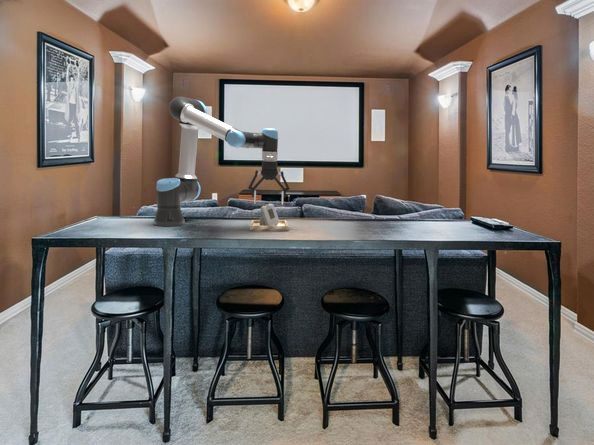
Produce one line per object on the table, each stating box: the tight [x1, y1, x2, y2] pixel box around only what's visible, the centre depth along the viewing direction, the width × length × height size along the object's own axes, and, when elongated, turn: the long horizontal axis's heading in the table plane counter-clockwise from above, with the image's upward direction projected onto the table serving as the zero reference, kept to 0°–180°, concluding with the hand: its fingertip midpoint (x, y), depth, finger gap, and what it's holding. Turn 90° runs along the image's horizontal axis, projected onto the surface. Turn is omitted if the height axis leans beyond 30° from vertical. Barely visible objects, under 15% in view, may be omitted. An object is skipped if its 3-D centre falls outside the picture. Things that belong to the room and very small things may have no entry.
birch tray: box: [249, 219, 289, 232], centre depth 217 cm, size 18×20×2 cm
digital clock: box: [259, 203, 280, 226], centre depth 216 cm, size 16×9×11 cm, turn 155°
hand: (268, 204), depth 216 cm, fingers open, 13 cm apart
